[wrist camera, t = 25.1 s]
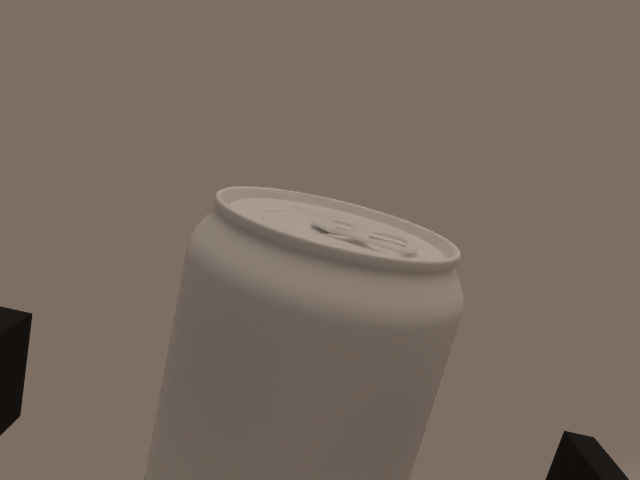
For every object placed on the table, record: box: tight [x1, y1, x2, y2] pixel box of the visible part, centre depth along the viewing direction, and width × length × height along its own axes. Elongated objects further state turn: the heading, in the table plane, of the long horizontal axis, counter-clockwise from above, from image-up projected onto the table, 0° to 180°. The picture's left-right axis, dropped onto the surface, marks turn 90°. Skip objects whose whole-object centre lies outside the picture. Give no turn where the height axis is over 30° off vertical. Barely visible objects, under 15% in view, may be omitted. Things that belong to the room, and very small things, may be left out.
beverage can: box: [144, 186, 464, 480], centre depth 17 cm, size 8×8×12 cm
